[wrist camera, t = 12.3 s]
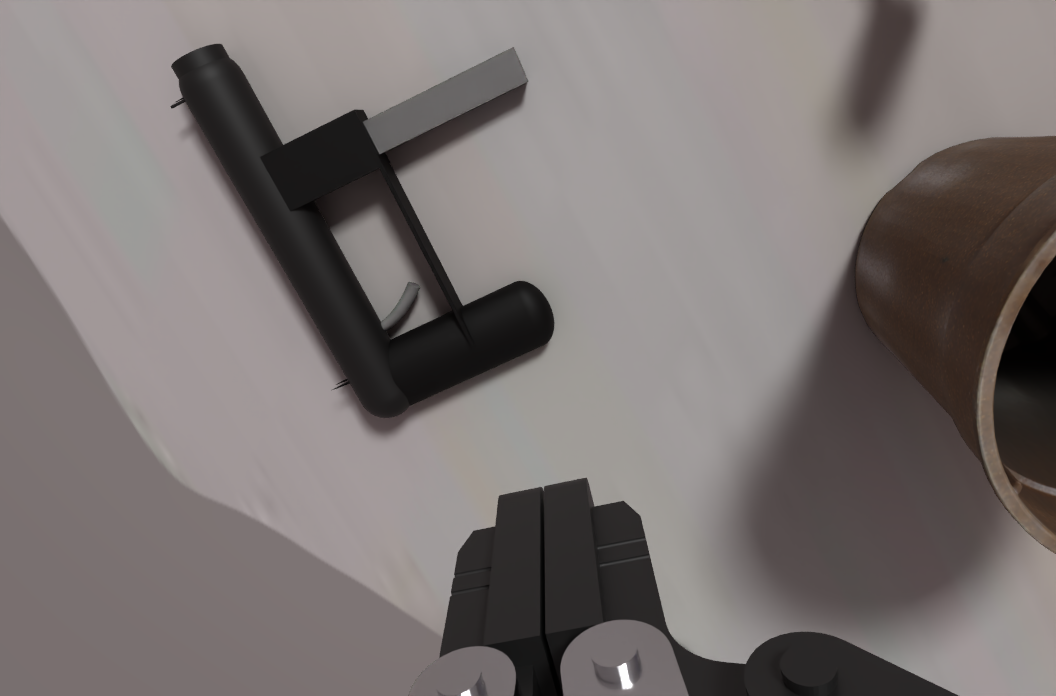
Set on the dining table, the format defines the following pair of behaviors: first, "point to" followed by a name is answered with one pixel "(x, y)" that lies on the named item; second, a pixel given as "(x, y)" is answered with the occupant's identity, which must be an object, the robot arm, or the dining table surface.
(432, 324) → the door handle
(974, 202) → the plant pot
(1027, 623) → the dining table surface
